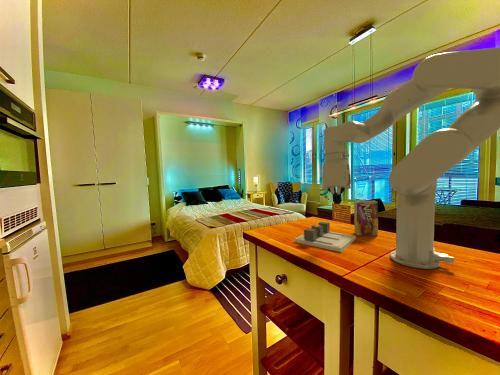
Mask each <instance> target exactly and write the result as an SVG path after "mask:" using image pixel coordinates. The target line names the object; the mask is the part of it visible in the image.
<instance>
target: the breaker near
mask: <svg viewBox="0 0 500 375" xmlns="http://www.w3.org/2000/svg"><path fill="white" fill-rule="evenodd" d="M303 234H304V239H305V240H310V241H315V240H316V239H317V237H316V230H315V229H312V228H310V227H309V228H308V227H307V228H304V229H303Z"/></svg>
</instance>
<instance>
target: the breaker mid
mask: <svg viewBox="0 0 500 375" xmlns="http://www.w3.org/2000/svg"><path fill="white" fill-rule="evenodd" d="M310 229H315V230H316V236H319V237H321V236H323V226H320V225H318V224H313V225H311V228H310Z"/></svg>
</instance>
